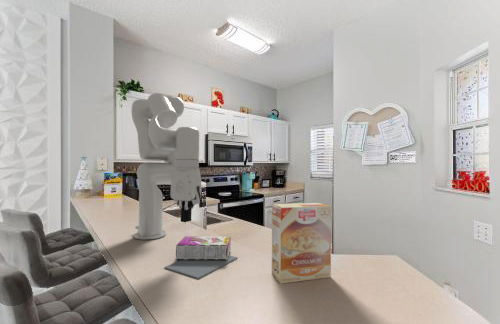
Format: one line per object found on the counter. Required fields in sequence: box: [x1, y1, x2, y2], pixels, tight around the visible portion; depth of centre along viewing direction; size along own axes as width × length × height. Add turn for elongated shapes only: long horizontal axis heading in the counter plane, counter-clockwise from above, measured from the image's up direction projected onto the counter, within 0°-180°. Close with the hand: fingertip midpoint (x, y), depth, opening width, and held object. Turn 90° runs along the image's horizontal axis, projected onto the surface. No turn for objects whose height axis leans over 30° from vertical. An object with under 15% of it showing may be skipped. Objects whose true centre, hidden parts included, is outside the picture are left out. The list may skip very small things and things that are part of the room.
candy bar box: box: [175, 235, 232, 261], centre depth 84 cm, size 11×5×16 cm
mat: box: [164, 254, 238, 280], centre depth 77 cm, size 14×18×1 cm
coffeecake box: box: [271, 202, 332, 284], centre depth 69 cm, size 15×7×20 cm, turn 105°
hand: (186, 221), depth 82 cm, fingers closed
